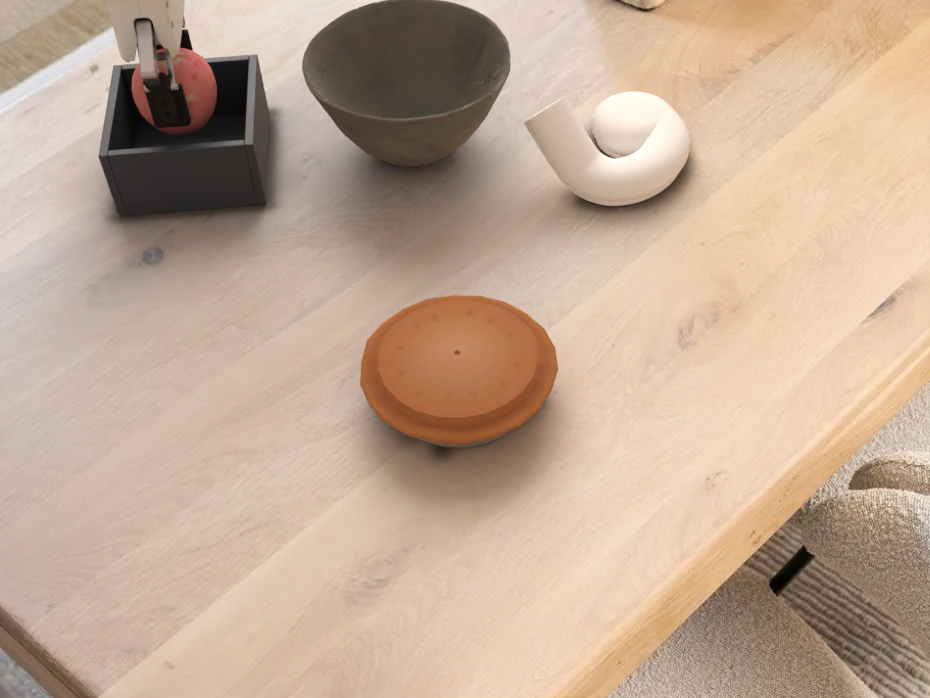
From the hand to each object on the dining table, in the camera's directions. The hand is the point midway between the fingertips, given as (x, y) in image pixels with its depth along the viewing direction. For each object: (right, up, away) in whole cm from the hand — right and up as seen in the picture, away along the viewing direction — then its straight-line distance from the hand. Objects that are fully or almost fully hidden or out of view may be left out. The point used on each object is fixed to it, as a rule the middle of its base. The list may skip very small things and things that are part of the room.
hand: (176, 96), depth 112 cm
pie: (+26, -28, -12) cm, 40 cm away
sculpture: (+41, -5, +4) cm, 41 cm away
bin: (0, -4, +6) cm, 8 cm away
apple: (0, -2, +3) cm, 4 cm away
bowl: (+21, -3, +7) cm, 23 cm away
